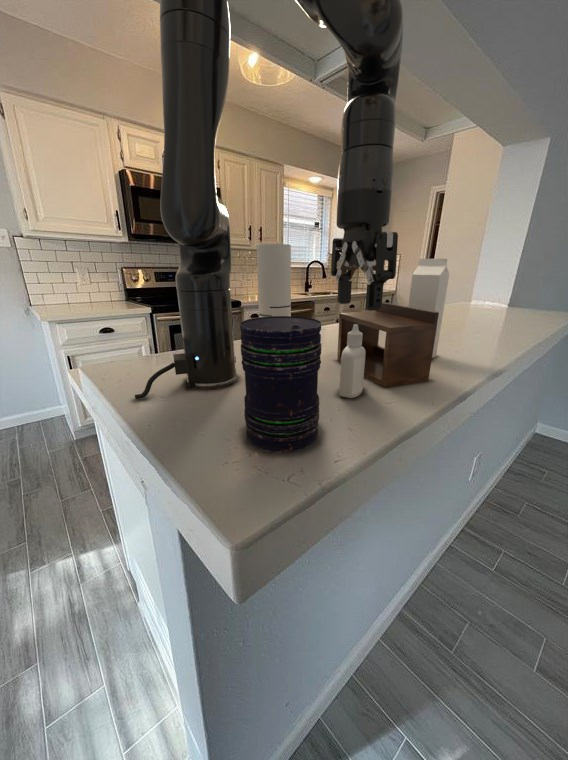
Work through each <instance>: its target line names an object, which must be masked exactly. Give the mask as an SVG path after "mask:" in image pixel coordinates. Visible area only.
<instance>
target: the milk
mask: <svg viewBox="0 0 568 760" xmlns="http://www.w3.org/2000/svg"><path fill="white" fill-rule="evenodd" d="M449 278H450V272H449V269H448V258H419V260H418V265H417V267H416V269H415V270H414V271H413V273H412V274H411V283H410V288H409V289H410V290H409V297H408V306H407V307H412V308H417V309H423V310H428V311H434V312H439V316H438V322H437V329H436V335H435V342H434V348H433V355H432V359H433V358H435V357H437V353H438V347H439V341H440V334H441V328H442V321H443V315H444V309H445V303H446V299H447V290H448V285H449Z"/></svg>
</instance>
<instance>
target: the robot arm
mask: <svg viewBox="0 0 568 760" xmlns="http://www.w3.org/2000/svg"><path fill="white" fill-rule="evenodd" d="M294 1H295V3H297V4H298V6H299V7H300V8H301V10H302V11H303V12H304V13H305V14H306V16H307V17H308V19H310V20H311V21H312V22H313V23H314V24H315V25H316V26H318V27H320V28H327V30H328V31H329V32H330V33H331V34H332V35H333V36H334V38H335V39H336V41H337V42H338V43H339V45H340V47H341V48H342V50H343V52H344V56H345V60H346V65H347V93H346V106H345V107H344V109H343V114H342V119H341V129H340V130H341V131H340V133H341V134H340V157H339V164H338V165H339V166H338V173H337V193H336V194H337V196H336V197H337V198H336V227H337V228H338V229H340V230H343V236H342V237H341V238H340V237H335V238H333V239H332V247H331V261H330V262H331V263H330V264H331V265H330V275H331V277H335V280H336V281H337V300H336V301H337V304H340V305H347V304H350V303H351V301H352V284H353V283H352V282H353V281H352V279H353V276H354V274H355V272H356V271H357V270H359V269H360V270H361V271H362V272H364V274H365V277H366V280H367V284H366V294H365V295H366V296H365V310H366V311H375V310H379V309H380V308H381V304H382V302H383V296H384V295H383V294H384V286H385V285H384V284H386V283H387V282H388V281H389V280H394V279H395V278H396V275H397V259H398V243H399V234H398V232H397V231H383V228H385V227H387V226H388V225H389V223H390V216H391V203H392V192H393V191H392V190H393V179H394V146H395V145H394V144H395V132H396V119H397V118H396V117H397V116H396V99H397V93H398V86H399V80H400V70H401V62H402V53H403V35H404V34H403V33H404V32H403V31H404V8H403V3H402V0H294ZM230 20H231V19H230V11H229V2H228V0H159V37H160V41H159V42H160V62H161V63H160V65H161V85H162V88H161V89H162V91H161V93H162V114H163V115H162V116H163V117H162V118H163V159H162V174H161V186H160V187H161V189H160V202H159V203H160V204H159V206H160V209H159V210H160V217H161V222H162V224H163V227H164V229H165V230H166V232H167V234H168V235H169V236H170V237H171V239H172V240H173V241H175V242H177V243H178V247H179V266H178V269H177V271H176V273H175V276H174V277H175V278H174V279H175V287H176V295H177V303H178V312H179V319H180V328H181V341H182V349H183V352H182V353H173V354H172V357H173V362H171V363H169V364H168V365H167V366H164V367H163V368H160V369H159V370H157V371H156V372H155V373H153V375H151V376H150V377H149V379H148V380H147V381H146V385H145V388H144V390H143V391H142V393H137V394H134V398H135V400H142V399H144V398H145V397H147V396H148V395H149V393H150V391H151V389H152V385H153V383H154V382H155V381H156V379H158V378H159V377H160V376H162V375H163V374H165V373H167V372H168V371H170V370H172V369H174V372H175V375H176V376H177V375H186V381H187V385H188V388H189V389H201V390H211V389H219V388H223V387H227V386H231V385H232V384H234V383H236V381H237V379H238V378H237V375H238V374H237V368H236V363H237V358H236V353H235V339H234V324H233V323H234V322H233V310H232V293H231V273H232V247H231V226H230V217H229V214H228V211H227V210H228V209H227V207H226V205H225V204H224V202H223V200H222V199H221V198H220V197H219V196H218V195H217V185H216V184H217V183H216V141H217V135H218V131H219V127H220V123H221V120H222V116H223V112H224V109H225V104H226V100H227V94H228V90H229V89H228V87H229V80H230V79H229V77H230V56H231V54H230V53H231V21H230ZM385 261H387V269H385V266H386V262H385Z"/></svg>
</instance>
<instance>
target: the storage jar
mask: <svg viewBox="0 0 568 760" xmlns="http://www.w3.org/2000/svg"><path fill="white" fill-rule="evenodd" d="M239 325H240V326H239V327H240V329H239V330H240V332H241V335H240V342H241V344H240V355H241V365H242V370H243V371H244V383H245V395H244V400H243V401H244V402H243V403H244V408H243V409H244V413H243V414H244V415H243V416H244V422H245V428H246V431H245V432H246V439H247V441H248V442H249V443H250V445H251V446H253V447H254V448H256V449H259V450H261V451H264V452H267V453H268V452H269V453H275V454H288V453H294V452H295V453H296V452H299V451H302V450H304V449H307V448H309V447H310V446H312V445H314V443H316V441H317V439H318V438H319V437H318V436H319V429H318V427H319V420H320V396H319V393H318V384H319V382H318V380H319V379H318V378H319V371H320V369H321V365H322V360H321V356H322V343H321V342H322V335H321V331H322V322H321V320H319V319H315V318H311V317H304V316H293V315H291V316H272V317H260V318H259V317H253V318H248V319H245V320H243V321H241V322H240V323H239Z"/></svg>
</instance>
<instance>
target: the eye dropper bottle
mask: <svg viewBox="0 0 568 760" xmlns="http://www.w3.org/2000/svg"><path fill="white" fill-rule="evenodd" d="M362 336H363V334H362V333H361V332H359V330H358V325H357V324H354V325H353V329H352V331H351V332H348V336H347V346H346V347H345V349H344V350H343V352H342V357H341V363H340V371H339V372H340V375H339V391H338V393H339V396H340V397H342V398H348V399H353V398H356V397H359V396H360V395H361V394H362V392H363V390H364V380H365V376H364V367H365V349H364V347H362V346H361V345H362Z"/></svg>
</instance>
